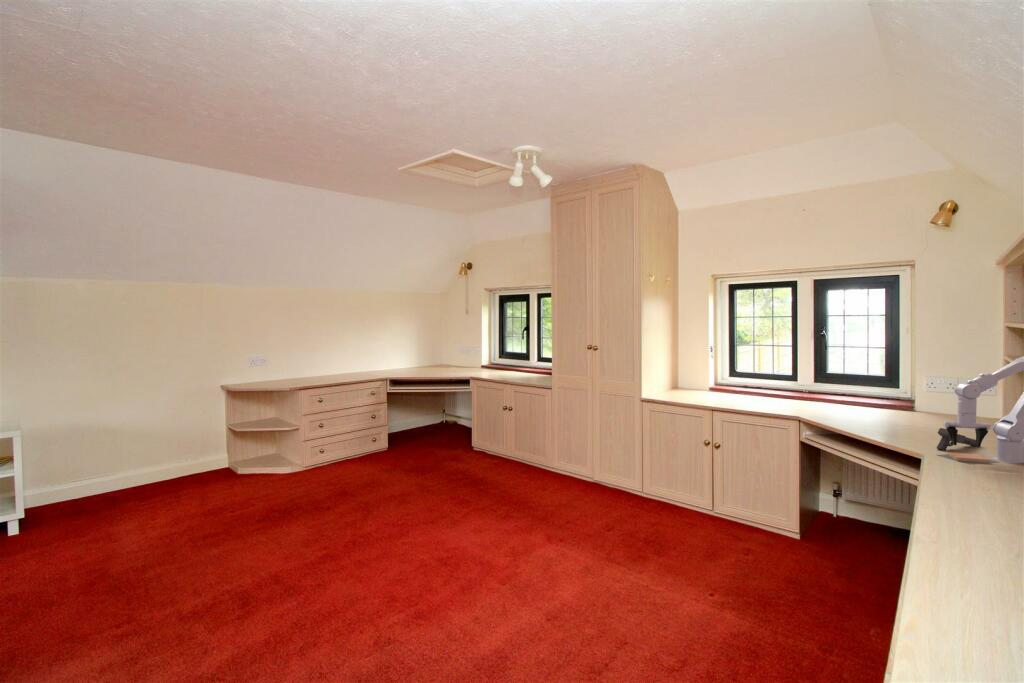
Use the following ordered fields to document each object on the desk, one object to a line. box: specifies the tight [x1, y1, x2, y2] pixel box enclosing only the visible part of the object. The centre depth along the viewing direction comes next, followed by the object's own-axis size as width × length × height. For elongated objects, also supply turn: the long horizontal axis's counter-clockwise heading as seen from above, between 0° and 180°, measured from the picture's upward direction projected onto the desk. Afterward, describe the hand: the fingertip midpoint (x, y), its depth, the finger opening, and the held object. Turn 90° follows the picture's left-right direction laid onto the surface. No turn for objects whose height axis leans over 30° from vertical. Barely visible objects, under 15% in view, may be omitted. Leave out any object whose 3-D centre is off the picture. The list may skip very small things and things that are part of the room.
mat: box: [936, 453, 1001, 465], centre depth 209 cm, size 14×14×1 cm
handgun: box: [936, 427, 979, 451], centre depth 226 cm, size 4×24×10 cm, turn 107°
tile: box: [948, 452, 989, 464], centre depth 208 cm, size 2×10×8 cm
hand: (966, 445), depth 209 cm, fingers open, 7 cm apart
